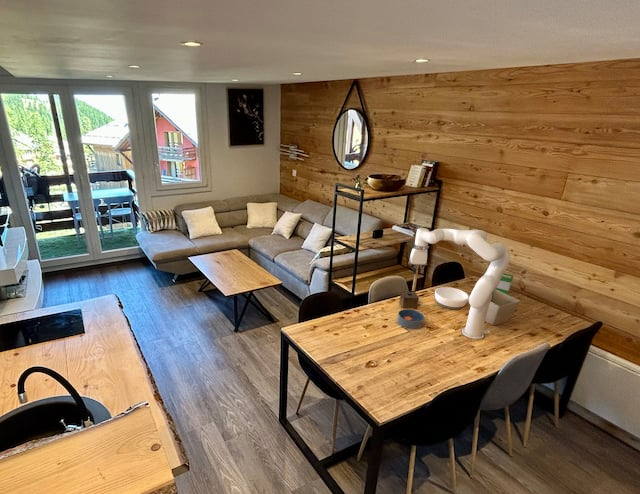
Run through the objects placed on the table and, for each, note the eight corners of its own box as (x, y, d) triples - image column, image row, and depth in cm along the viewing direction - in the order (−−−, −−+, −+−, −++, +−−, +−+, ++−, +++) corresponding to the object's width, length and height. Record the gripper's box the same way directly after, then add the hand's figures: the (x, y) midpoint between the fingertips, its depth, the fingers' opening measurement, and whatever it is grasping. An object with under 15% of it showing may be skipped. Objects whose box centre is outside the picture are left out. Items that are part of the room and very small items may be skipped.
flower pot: (493, 329, 250) (500, 306, 243) (469, 315, 266) (474, 293, 259) (514, 323, 257) (520, 300, 251) (489, 310, 273) (495, 288, 267)
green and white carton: (476, 302, 284) (483, 272, 275) (478, 298, 290) (485, 269, 280) (503, 309, 275) (511, 278, 265) (505, 306, 280) (513, 275, 271)
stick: (414, 289, 264) (418, 265, 257) (415, 291, 262) (419, 266, 255) (411, 289, 264) (415, 265, 257) (412, 290, 262) (416, 266, 256)
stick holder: (413, 302, 281) (415, 291, 278) (416, 309, 272) (418, 298, 269) (399, 302, 282) (401, 291, 279) (402, 308, 273) (404, 297, 269)
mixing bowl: (419, 317, 262) (420, 309, 260) (425, 330, 247) (427, 322, 245) (394, 316, 263) (395, 308, 260) (399, 329, 248) (401, 321, 246)
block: (408, 321, 256) (409, 316, 254) (411, 324, 252) (412, 319, 251) (402, 322, 255) (403, 317, 253) (406, 325, 251) (407, 320, 250)
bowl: (446, 294, 295) (448, 284, 292) (473, 307, 278) (475, 296, 274) (426, 301, 284) (428, 290, 281) (453, 314, 267) (455, 303, 264)
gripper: (431, 245, 254) (426, 271, 261) (406, 244, 255) (402, 270, 262) (434, 249, 247) (429, 276, 254) (409, 248, 248) (405, 275, 256)
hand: (416, 273), depth 258 cm, fingers closed on stick, 1 cm apart
